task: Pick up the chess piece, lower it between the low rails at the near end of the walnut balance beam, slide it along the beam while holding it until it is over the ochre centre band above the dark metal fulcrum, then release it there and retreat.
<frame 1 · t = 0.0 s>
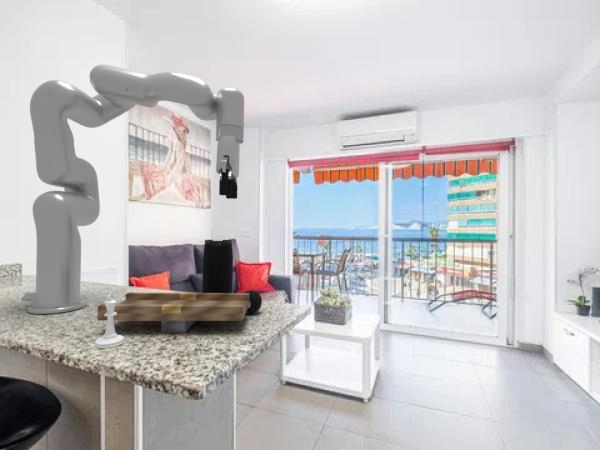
hand: (228, 197, 86), 31 cm above the countertop, tool pointing down, fingers open, 9 cm apart
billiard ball: (250, 313, 82), on the countertop
chess piece: (109, 344, 60), on the countertop
portable speaker: (217, 307, 88), on the countertop
beam: (180, 324, 72), on the countertop
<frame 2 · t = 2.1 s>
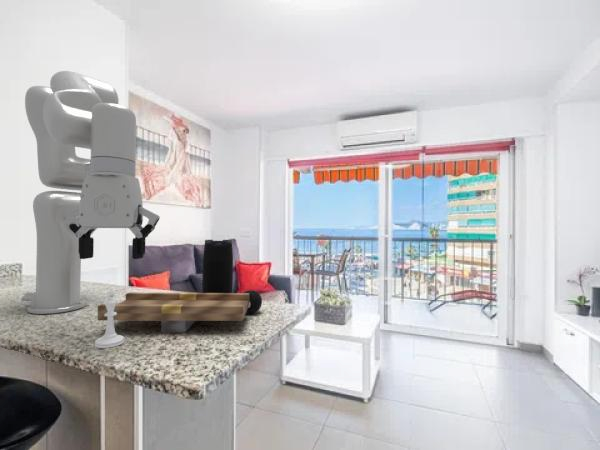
hand: (112, 258, 60), 17 cm above the countertop, tool pointing down, fingers open, 9 cm apart
nothing on the countertop moved.
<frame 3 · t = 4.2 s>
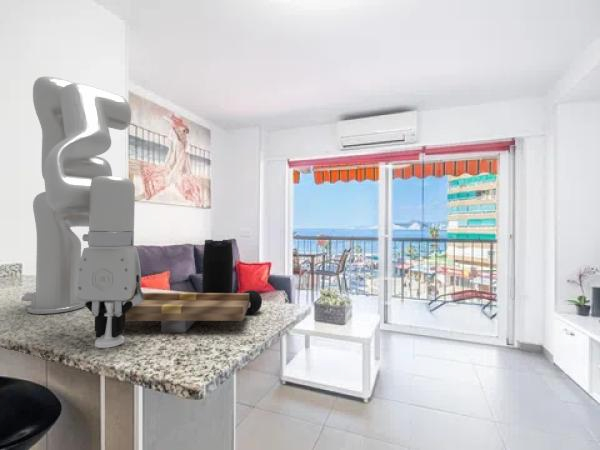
hand: (110, 334, 60), 2 cm above the countertop, tool pointing down, fingers closed on chess piece
chess piece: (109, 344, 60), on the countertop, touching gripper
everything else where it was.
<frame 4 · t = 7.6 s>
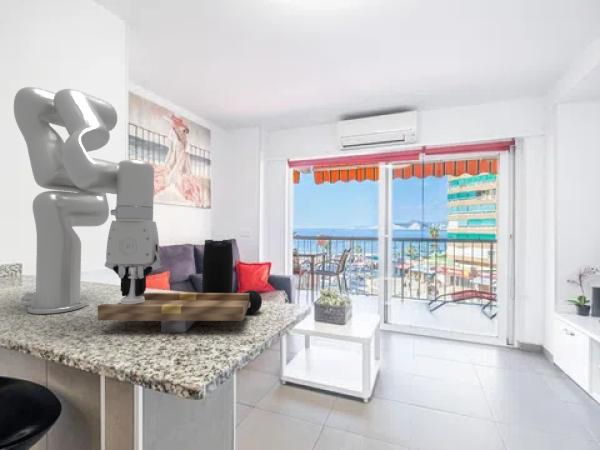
hand: (133, 294, 71), 7 cm above the countertop, tool pointing down, fingers closed on chess piece
chess piece: (132, 302, 71), point 5 cm above the countertop, touching gripper
everything else where it was.
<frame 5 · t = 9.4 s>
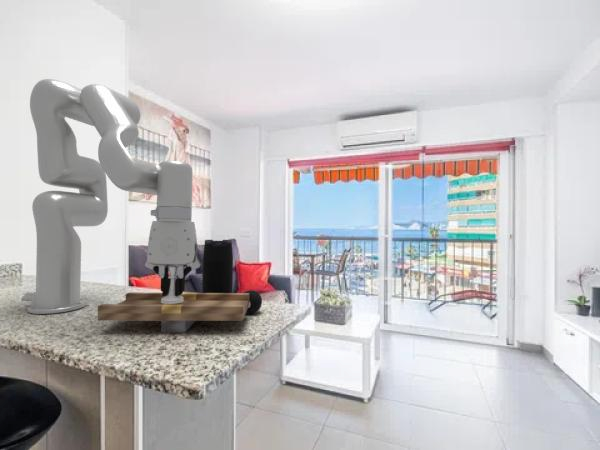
hand: (172, 294, 71), 7 cm above the countertop, tool pointing down, fingers closed on chess piece
chess piece: (172, 302, 71), point 5 cm above the countertop, touching gripper
everything else where it was.
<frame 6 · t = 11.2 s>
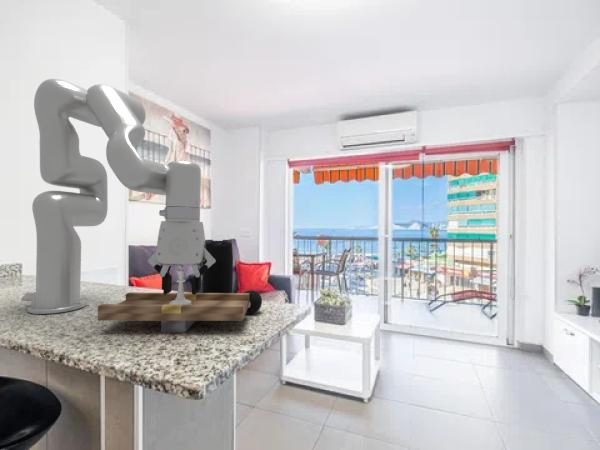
hand: (181, 292, 72), 8 cm above the countertop, tool pointing down, fingers open, 5 cm apart
chess piece: (180, 306, 72), point 4 cm above the countertop, touching beam
everything else where it was.
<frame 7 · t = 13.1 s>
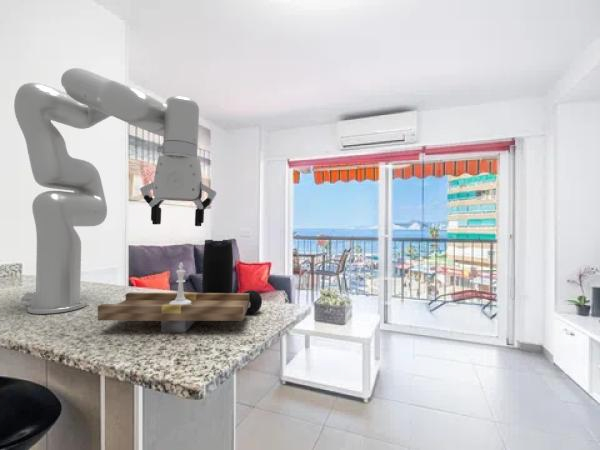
hand: (177, 225, 73), 23 cm above the countertop, tool pointing down, fingers open, 9 cm apart
nothing on the countertop moved.
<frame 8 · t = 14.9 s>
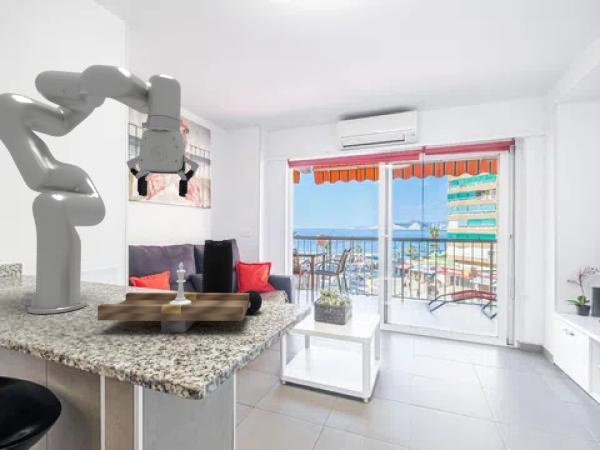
hand: (162, 196, 77), 30 cm above the countertop, tool pointing down, fingers open, 9 cm apart
nothing on the countertop moved.
at the end: chess piece inside the target area on the beam (0.2 cm from its centre), point 4.3 cm above the beam's base; chess piece tilted 0°; the gripper is holding nothing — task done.
